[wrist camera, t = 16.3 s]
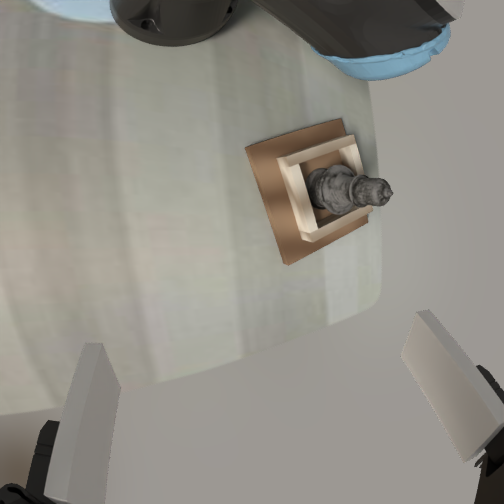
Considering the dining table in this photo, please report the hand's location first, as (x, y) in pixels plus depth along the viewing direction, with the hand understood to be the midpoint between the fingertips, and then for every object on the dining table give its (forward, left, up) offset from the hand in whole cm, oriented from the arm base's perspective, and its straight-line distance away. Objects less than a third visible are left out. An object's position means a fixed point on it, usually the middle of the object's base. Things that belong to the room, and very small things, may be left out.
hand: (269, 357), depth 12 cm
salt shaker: (+1, +20, -24) cm, 31 cm away
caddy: (0, +19, -25) cm, 31 cm away
